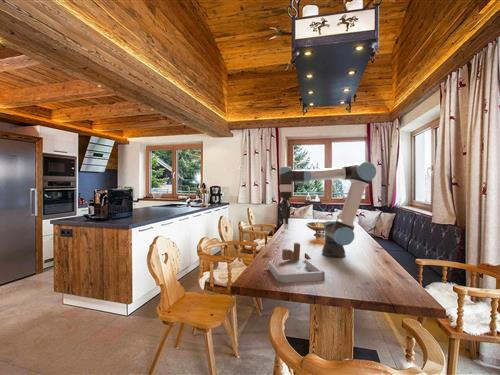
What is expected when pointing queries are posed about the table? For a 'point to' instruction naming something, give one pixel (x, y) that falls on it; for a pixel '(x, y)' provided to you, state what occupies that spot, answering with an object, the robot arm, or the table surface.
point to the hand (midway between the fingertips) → (285, 228)
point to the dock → (298, 274)
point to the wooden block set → (293, 253)
